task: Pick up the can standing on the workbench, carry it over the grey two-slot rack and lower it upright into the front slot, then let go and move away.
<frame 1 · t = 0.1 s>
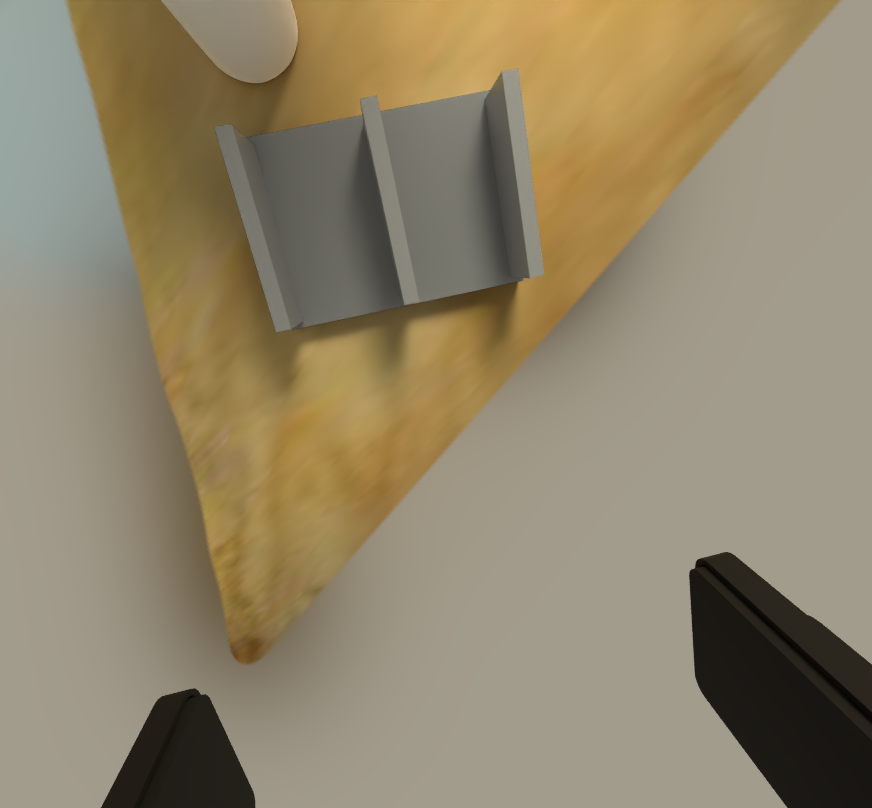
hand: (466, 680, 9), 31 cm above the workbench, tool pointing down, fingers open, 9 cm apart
rack: (389, 216, 36), on the workbench
can: (250, 31, 32), on the workbench
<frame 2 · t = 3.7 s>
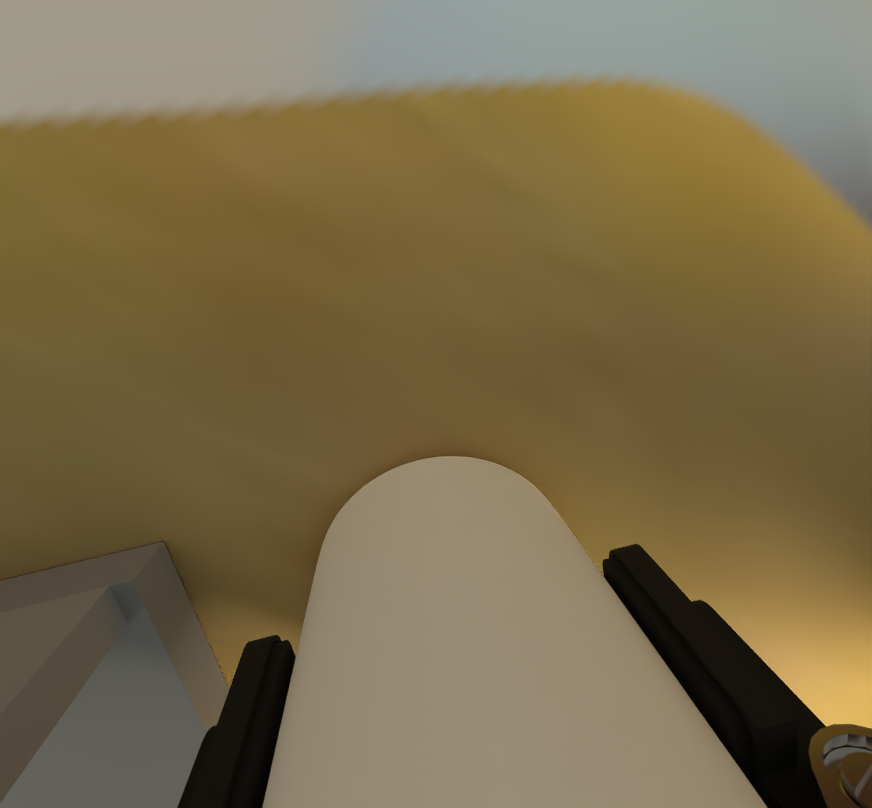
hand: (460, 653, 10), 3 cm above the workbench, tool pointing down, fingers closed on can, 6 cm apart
can: (442, 557, 13), on the workbench, touching gripper
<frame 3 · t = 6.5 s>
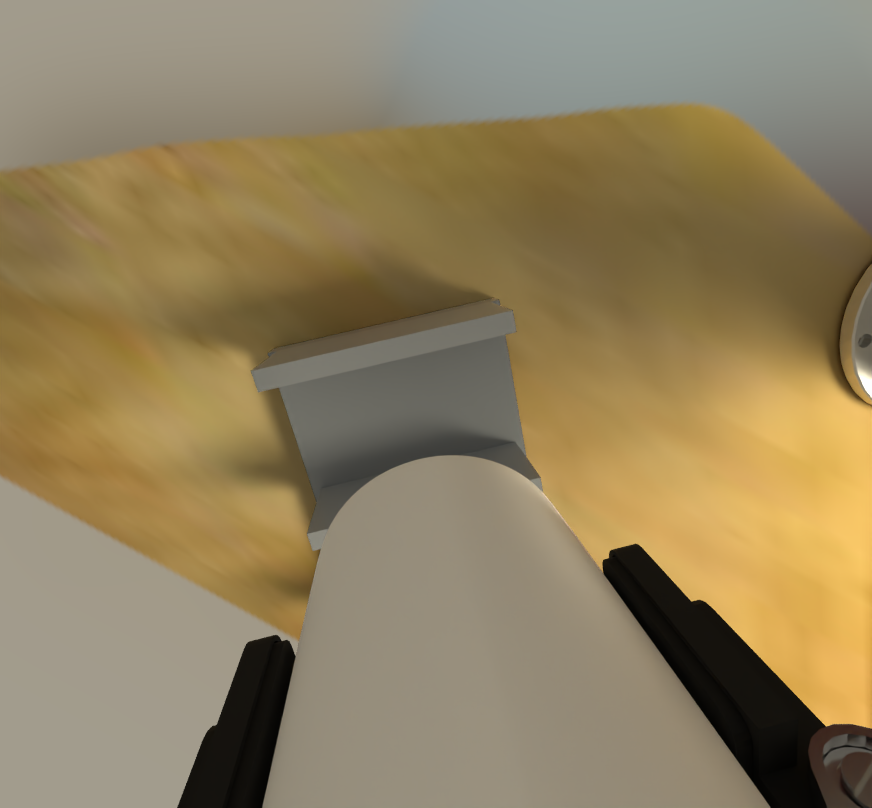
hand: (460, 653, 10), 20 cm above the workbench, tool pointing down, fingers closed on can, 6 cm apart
rack: (419, 462, 30), on the workbench
can: (443, 557, 13), point 17 cm above the workbench, touching gripper
when the fingers open (6 cm above the workbench, at t = 9.7 s): can drops 1 cm, resting on rack.
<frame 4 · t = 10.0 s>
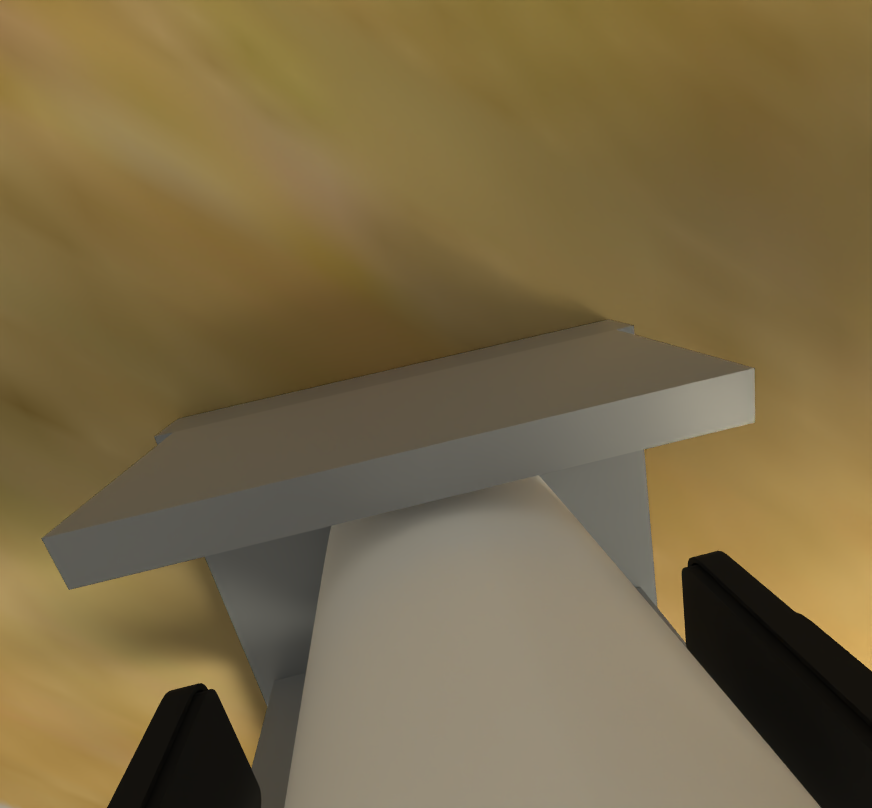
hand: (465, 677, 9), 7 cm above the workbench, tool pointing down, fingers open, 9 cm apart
rack: (456, 612, 17), on the workbench
can: (441, 529, 14), point 1 cm above the workbench, touching rack
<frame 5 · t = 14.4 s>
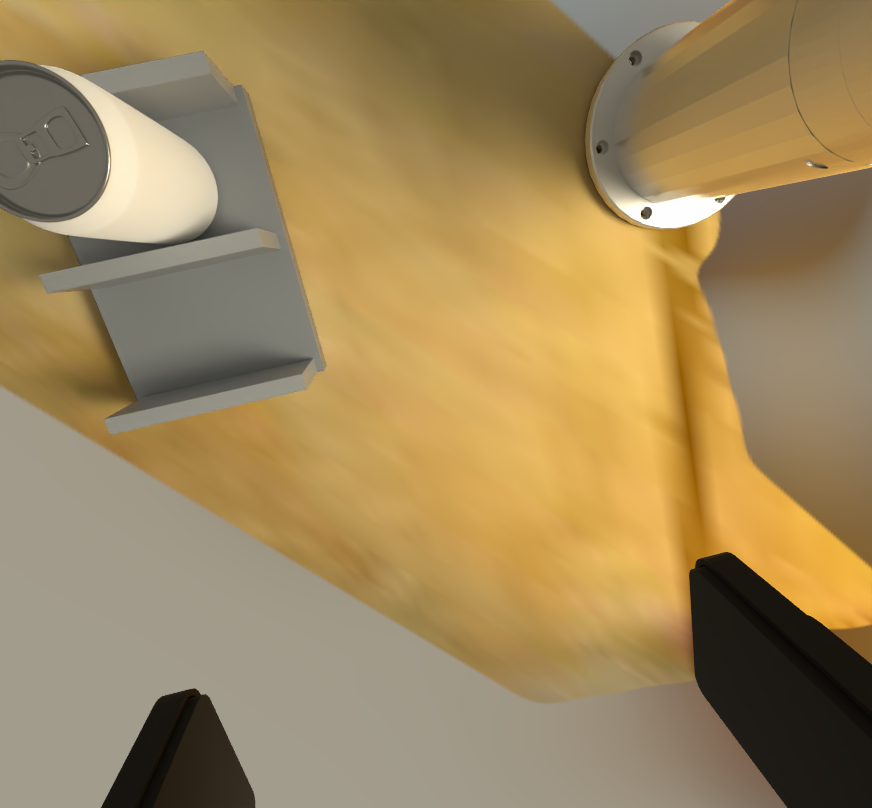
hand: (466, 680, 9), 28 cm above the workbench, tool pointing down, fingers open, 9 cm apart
rack: (196, 261, 32), on the workbench
can: (167, 191, 30), point 1 cm above the workbench, touching rack
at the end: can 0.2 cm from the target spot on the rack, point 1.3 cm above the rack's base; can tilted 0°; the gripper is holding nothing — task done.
